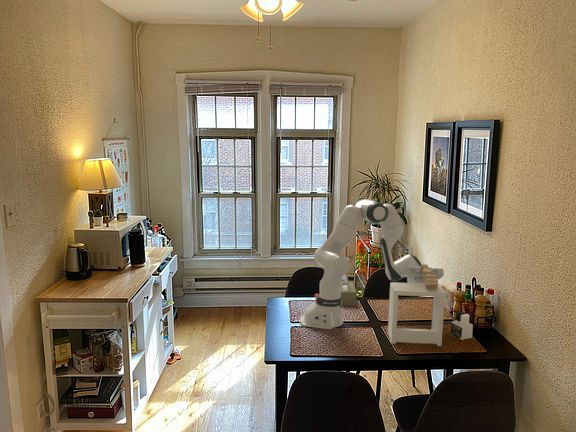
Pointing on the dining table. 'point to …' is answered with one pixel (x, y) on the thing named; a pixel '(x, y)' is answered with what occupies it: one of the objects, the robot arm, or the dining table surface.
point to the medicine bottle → (461, 326)
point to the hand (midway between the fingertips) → (425, 269)
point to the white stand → (416, 334)
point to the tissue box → (348, 292)
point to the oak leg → (429, 277)
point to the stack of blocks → (449, 295)
